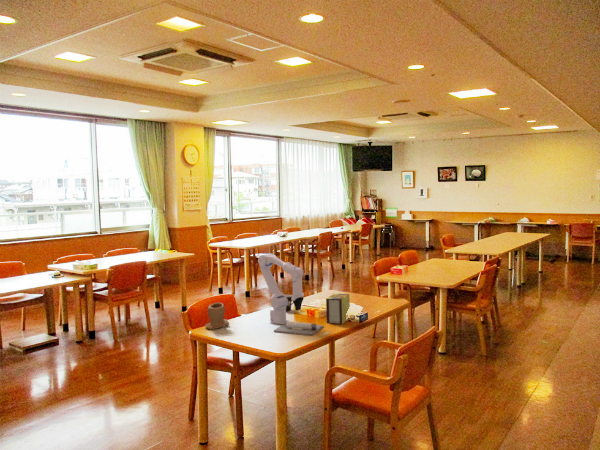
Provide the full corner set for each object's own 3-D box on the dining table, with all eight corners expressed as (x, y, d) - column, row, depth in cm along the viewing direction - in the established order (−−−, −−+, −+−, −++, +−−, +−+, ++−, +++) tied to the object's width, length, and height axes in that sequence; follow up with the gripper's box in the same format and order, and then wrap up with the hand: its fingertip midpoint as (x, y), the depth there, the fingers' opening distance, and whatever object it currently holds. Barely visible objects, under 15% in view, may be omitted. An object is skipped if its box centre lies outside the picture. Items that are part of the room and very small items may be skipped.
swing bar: (317, 328, 293) (316, 323, 293) (315, 330, 290) (315, 325, 290) (288, 326, 300) (288, 321, 300) (286, 327, 298) (285, 322, 297)
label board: (273, 332, 294) (273, 330, 294) (286, 323, 310) (286, 322, 310) (312, 335, 284) (311, 333, 284) (322, 327, 301) (322, 325, 301)
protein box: (350, 318, 320) (349, 294, 318) (342, 324, 306) (341, 299, 304) (334, 316, 324) (334, 293, 323) (326, 323, 310) (325, 298, 309)
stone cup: (212, 331, 298) (211, 307, 297) (202, 327, 307) (201, 303, 306) (234, 326, 307) (233, 302, 306) (224, 323, 317) (223, 299, 315)
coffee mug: (280, 312, 340) (280, 297, 339) (279, 309, 348) (278, 294, 347) (297, 311, 341) (297, 296, 340) (296, 308, 350) (295, 293, 349)
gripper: (298, 290, 295) (299, 313, 296) (308, 285, 308) (308, 307, 309) (287, 289, 297) (288, 312, 299) (297, 285, 311) (298, 306, 312)
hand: (298, 309), depth 304 cm, fingers closed
